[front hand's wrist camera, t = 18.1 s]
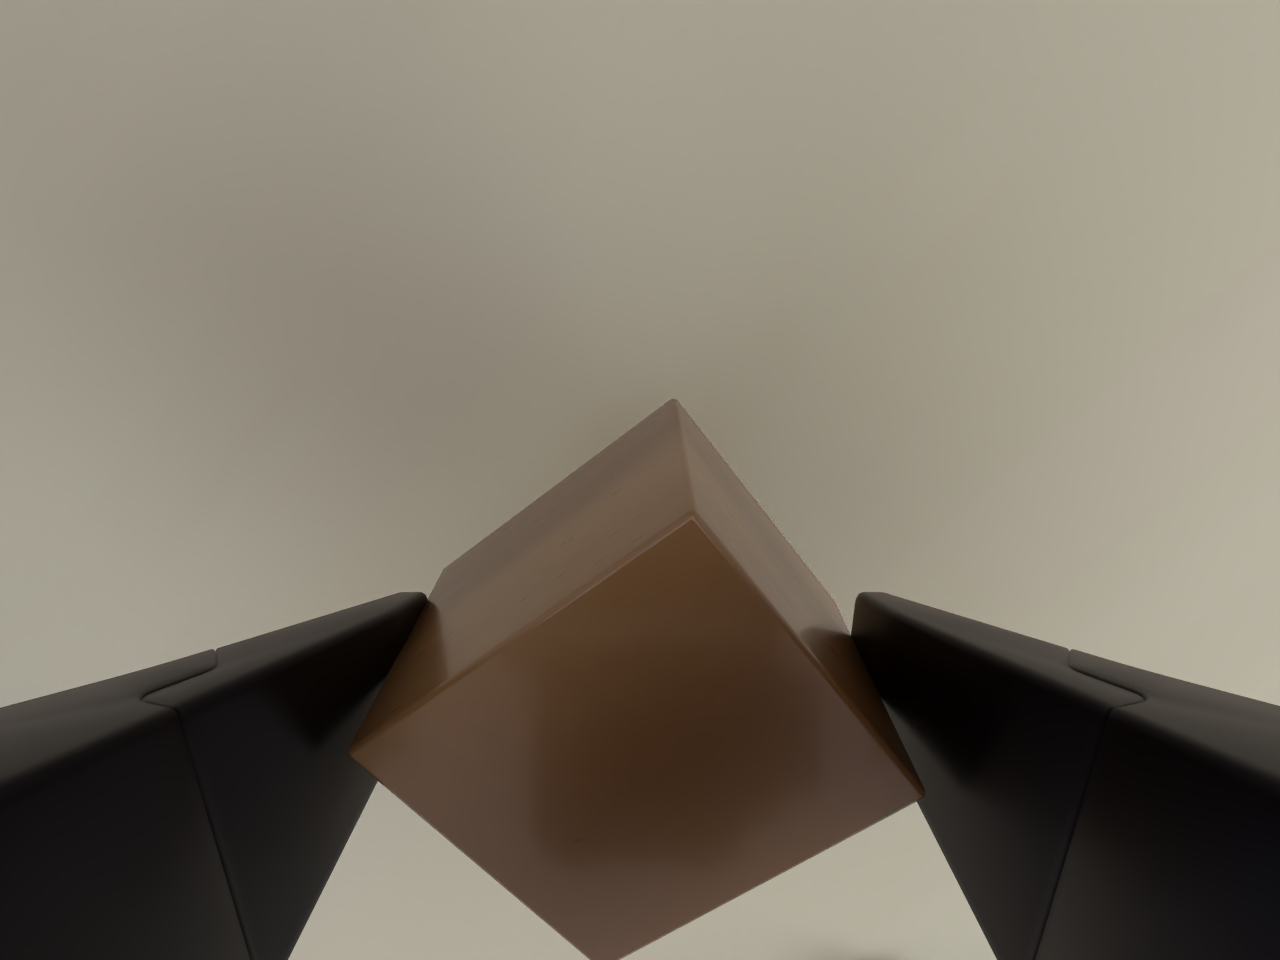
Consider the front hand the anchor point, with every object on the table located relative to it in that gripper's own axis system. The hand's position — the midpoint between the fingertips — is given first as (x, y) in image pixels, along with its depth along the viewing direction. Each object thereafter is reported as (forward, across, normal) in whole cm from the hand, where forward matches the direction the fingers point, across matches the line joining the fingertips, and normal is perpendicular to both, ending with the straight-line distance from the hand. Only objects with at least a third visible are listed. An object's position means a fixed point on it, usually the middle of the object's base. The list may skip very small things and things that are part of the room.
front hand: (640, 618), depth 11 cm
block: (+1, 0, 0) cm, 1 cm away
